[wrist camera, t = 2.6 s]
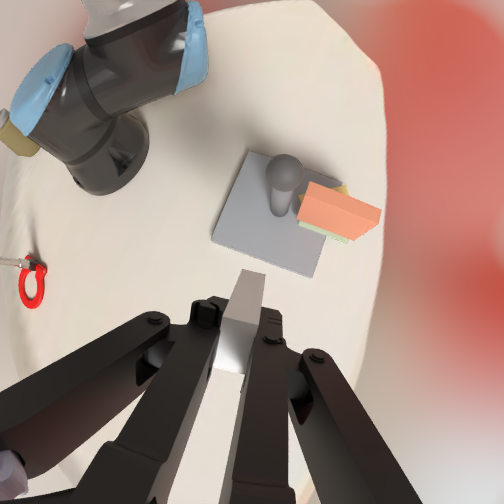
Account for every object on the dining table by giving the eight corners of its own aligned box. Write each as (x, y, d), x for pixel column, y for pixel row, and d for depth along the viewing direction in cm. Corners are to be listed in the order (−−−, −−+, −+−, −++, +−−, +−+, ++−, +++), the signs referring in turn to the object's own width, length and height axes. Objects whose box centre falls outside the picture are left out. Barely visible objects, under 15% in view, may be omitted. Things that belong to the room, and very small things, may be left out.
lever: (261, 216, 35) (259, 174, 23) (271, 192, 36) (273, 142, 23) (349, 248, 34) (389, 224, 22) (356, 224, 34) (396, 190, 22)
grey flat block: (212, 242, 37) (210, 239, 35) (249, 155, 39) (248, 150, 37) (330, 285, 35) (334, 285, 33) (358, 194, 37) (361, 189, 35)
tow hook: (40, 316, 37) (51, 270, 38) (-11, 320, 24) (-3, 264, 25) (19, 296, 38) (28, 253, 39) (-28, 295, 25) (-20, 244, 26)
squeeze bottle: (25, 168, 42) (-26, 135, 24) (24, 146, 43) (-21, 113, 26) (48, 145, 42) (-2, 105, 25) (45, 125, 44) (2, 86, 26)
